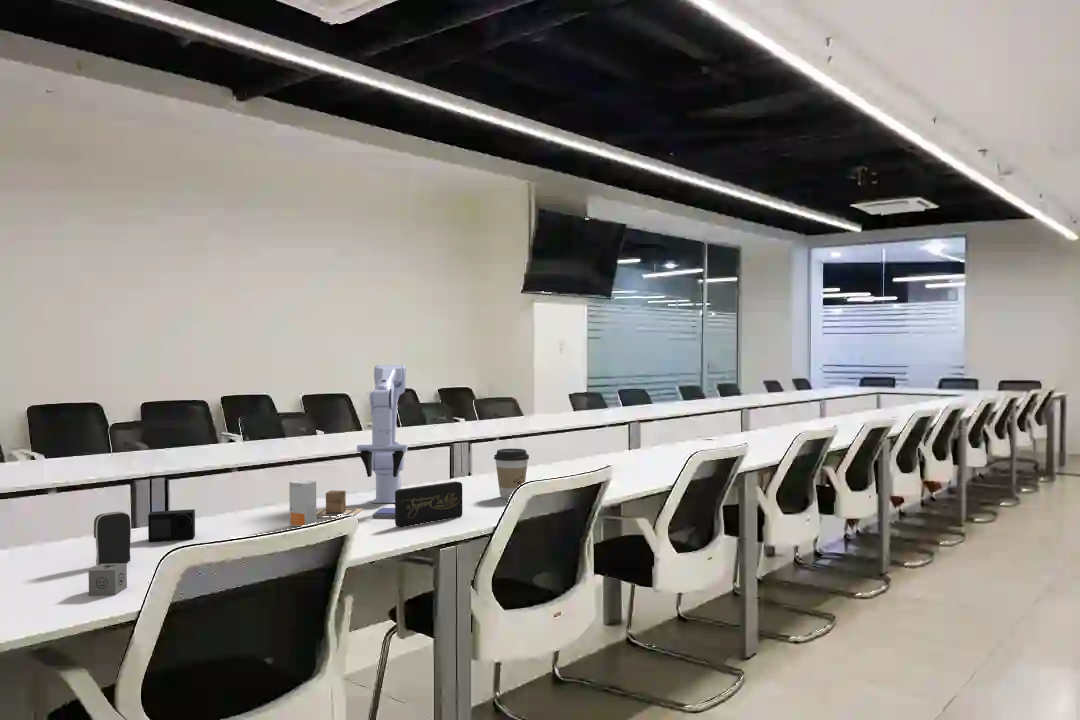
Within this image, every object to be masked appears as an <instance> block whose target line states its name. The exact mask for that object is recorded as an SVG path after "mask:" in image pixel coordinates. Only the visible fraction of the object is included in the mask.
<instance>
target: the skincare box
mask: <svg viewBox="0 0 1080 720" xmlns="http://www.w3.org/2000/svg"><path fill="white" fill-rule="evenodd" d="M288 485H289V488H288V489H289V491H288V492H289V526H290V525H291V526H290V527H297V526H302V525H308V524H311V523H315V522H316V523H317V518H316V512H317V481H313V480H305V479H304V480H303V479H297V480H291V481H289V483H288ZM297 528H298V527H297Z"/></svg>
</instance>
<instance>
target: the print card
mask: <svg viewBox="0 0 1080 720" xmlns="http://www.w3.org/2000/svg"><path fill="white" fill-rule="evenodd" d="M361 510H362V511H363V508H351V507H350V508H347V507H346V511H345V512H344V513H346V514H344V513H342V514H343V515H349V514H353V513H354V514H353V515H355V514H356V515H358V514H359V513H361V512H362V511H361ZM358 512H359V513H358ZM357 513H358V514H357ZM337 515H338V514H326V507H322V508H321V509H319V510H318V511H317V510H316V517H323V516H329V517H331V516H336V517H339V516H337ZM356 515H355V516H356ZM340 516H341V515H340Z"/></svg>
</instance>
